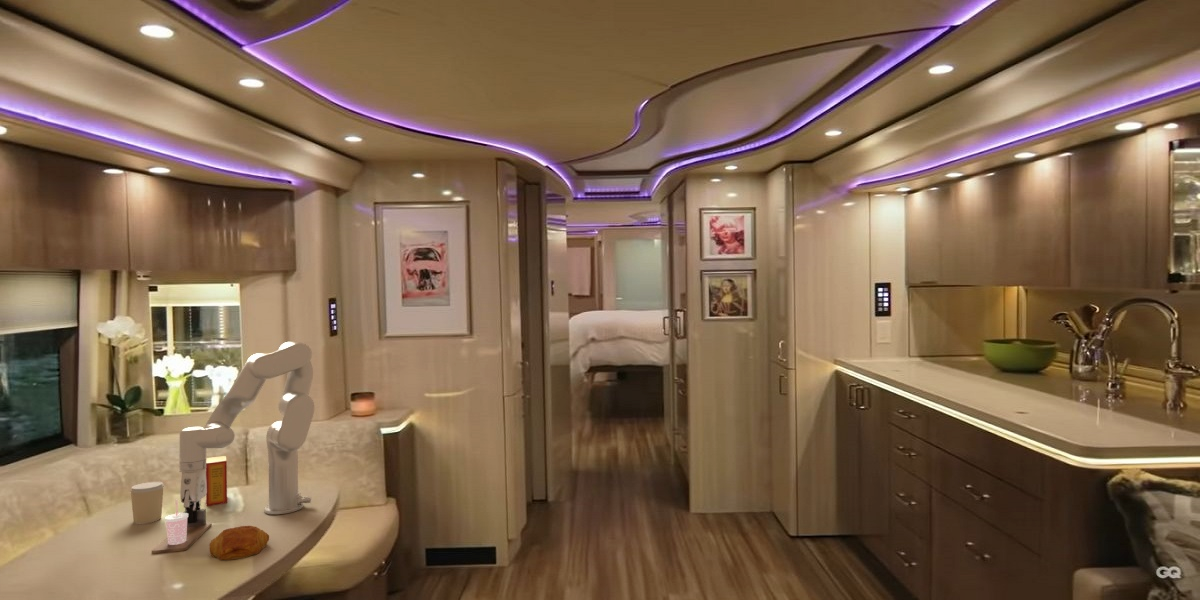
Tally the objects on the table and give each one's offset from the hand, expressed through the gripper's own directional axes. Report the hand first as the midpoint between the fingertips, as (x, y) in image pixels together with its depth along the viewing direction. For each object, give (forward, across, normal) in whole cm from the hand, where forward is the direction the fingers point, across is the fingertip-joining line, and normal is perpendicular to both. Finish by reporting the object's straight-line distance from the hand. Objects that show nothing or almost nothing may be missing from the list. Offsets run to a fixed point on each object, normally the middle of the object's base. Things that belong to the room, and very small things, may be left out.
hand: (192, 520), depth 212 cm
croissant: (+3, -25, -21) cm, 33 cm away
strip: (+3, -9, 0) cm, 10 cm away
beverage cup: (+3, -14, -1) cm, 15 cm away
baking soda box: (+3, +31, +2) cm, 31 cm away
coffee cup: (+3, +14, +18) cm, 23 cm away
